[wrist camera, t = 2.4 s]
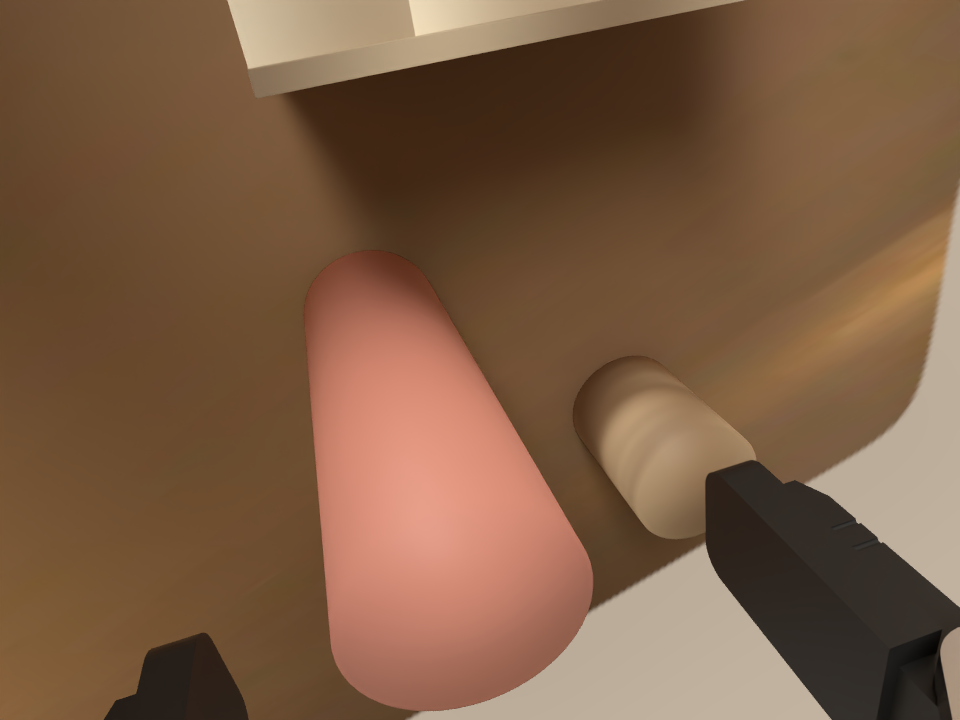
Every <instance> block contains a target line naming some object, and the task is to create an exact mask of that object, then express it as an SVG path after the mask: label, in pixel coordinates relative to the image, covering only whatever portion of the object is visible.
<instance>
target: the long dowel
mask: <svg viewBox="0 0 960 720" xmlns="http://www.w3.org/2000/svg"><path fill="white" fill-rule="evenodd" d="M304 325H305V337H306V349H307V361H308V374H309V386H310V398H311V410H312V422H313V434H314V446H315V459H316V471H317V483H318V495H319V507H320V519H321V531H322V544H323V556H324V568H325V580H326V592H327V604H328V616H329V628H330V640H331V650H332V653H333V656H334V660H335V663H336V664H337V666H338V668H339V670H340V672H341V674H342V675H343V676H344V677H345V679H346V680H347V681H348V682H349V683H350V684H351V685H352V686H353V687H354V688H355V689H357V690H358V691H359V692H360V693H362V694H364V695H365V696H367V697H369V698H370V699H372V700H375V701H377V702H379V703H382V704H385V705H388V706H392V707H395V708H400V709H406V710H415V711H441V710H449V709H456V708H461V707H466V706H470V705H474V704H477V703H481V702H484V701H487V700H490V699H492V698H495V697H497V696H500V695H502V694H504V693H506V692H508V691H510V690H512V689H514V688H516V687H518V686H520V685H522V684H523V683H525V682H526V681H528V680H530V679H531V678H533V677H534V676H536V675H537V674H538V673H540V672H541V671H542V670H544V669H545V668H546V667H547V666H548V665H549V664H551V663H552V662H553V661H554V660H555V659H556V658H557V657H558V656H559V655H560V654H561V653H562V652H563V651H564V650H565V649H566V647H567V646H568V645H569V643H570V642H571V641H572V640H573V638H574V637H575V636H576V634H577V632H578V631H579V629H580V627H581V626H582V624H583V621H584V619H585V617H586V615H587V613H588V610H589V607H590V603H591V600H592V593H593V572H592V567H591V562H590V560H589V557H588V555H587V552H586V550H585V549H584V547H583V545H582V544H581V542H580V540H579V538H578V537H577V535H576V533H575V532H574V530H573V528H572V526H571V525H570V523H569V521H568V520H567V518H566V516H565V514H564V513H563V511H562V509H561V508H560V506H559V504H558V502H557V501H556V499H555V497H554V496H553V494H552V492H551V490H550V489H549V487H548V485H547V484H546V482H545V480H544V478H543V477H542V475H541V473H540V472H539V470H538V468H537V466H536V465H535V463H534V461H533V460H532V458H531V456H530V454H529V453H528V451H527V449H526V448H525V446H524V444H523V442H522V441H521V439H520V437H519V436H518V434H517V432H516V430H515V429H514V427H513V425H512V424H511V422H510V420H509V418H508V417H507V415H506V413H505V412H504V410H503V408H502V406H501V405H500V403H499V401H498V400H497V398H496V396H495V394H494V393H493V391H492V389H491V388H490V386H489V384H488V382H487V381H486V379H485V377H484V376H483V374H482V372H481V370H480V369H479V367H478V365H477V364H476V362H475V360H474V358H473V357H472V355H471V353H470V352H469V350H468V348H467V346H466V345H465V343H464V341H463V340H462V338H461V336H460V334H459V333H458V331H457V329H456V328H455V326H454V324H453V322H452V321H451V319H450V317H449V316H448V314H447V312H446V310H445V309H444V307H443V305H442V304H441V302H440V300H439V298H438V297H437V295H436V293H435V292H434V290H433V288H432V286H431V285H430V283H429V281H428V280H427V278H426V277H425V275H424V274H423V273H422V272H421V271H420V269H418V268H417V267H416V266H415V265H414V264H413V263H411V262H410V261H408V260H407V259H405V258H403V257H401V256H399V255H396V254H393V253H389V252H384V251H375V250H370V251H360V252H355V253H352V254H348V255H346V256H343V257H341V258H339V259H337V260H336V261H334V262H332V263H331V264H329V265H328V266H327V267H326V268H325V269H323V270H322V272H321V273H320V274H319V275H318V276H317V277H316V279H315V280H314V281H313V283H312V285H311V287H310V289H309V291H308V293H307V296H306V300H305V305H304Z"/></svg>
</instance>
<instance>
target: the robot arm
mask: <svg viewBox="0 0 960 720" xmlns="http://www.w3.org/2000/svg"><path fill="white" fill-rule="evenodd" d="M705 518H706V547H707V551H708V555H709V558H710V560H711V563H712V565H713V567H714V569H715V571H716V573H717V574H718V576H719V578H720V579H721V580H722V582H723V583H724V584H725V586H726V587H727V588H728V589H729V591H730V592H731V593H732V594H733V596H734V597H735V598H736V599H737V601H738V602H739V603H740V605H741V606H742V607H743V608H744V609H745V611H746V612H747V613H748V614H749V616H750V617H751V618H752V620H753V621H754V622H755V624H757V626H758V627H759V628H760V630H761V631H762V632H763V634H764V635H765V636H766V637H767V639H768V640H769V641H770V642H771V644H772V645H773V646H774V647H775V649H776V650H777V651H778V653H779V654H780V655H781V656H782V658H783V659H784V660H785V661H786V663H787V664H788V665H789V666H790V668H791V669H792V670H793V671H794V673H795V674H796V675H797V677H798V678H799V679H800V680H801V682H802V683H803V684H804V685H805V687H806V688H807V689H808V690H809V692H810V693H811V694H812V695H813V697H814V698H815V699H816V701H817V702H818V703H819V704H820V705H821V707H822V708H823V709H824V711H825V712H826V713H827V714H828V715H829V717H830V718H831V719H832V720H960V607H958V606H957V605H956V604H955V603H953V602H952V601H951V600H950V599H949V598H948V597H947V596H945V595H944V594H943V593H942V592H941V591H940V590H938V589H937V588H936V587H935V586H934V585H933V584H931V583H930V582H929V581H928V580H927V579H926V578H924V577H923V576H922V575H921V574H920V573H918V572H917V571H916V570H915V569H914V568H913V567H912V566H910V565H909V564H908V563H907V562H906V561H905V560H903V559H902V558H901V557H900V556H899V555H897V554H896V553H895V552H894V551H893V550H892V549H890V548H889V547H888V546H887V545H886V544H885V543H880V542H879V541H878V538H877V537H876V536H875V535H874V534H873V533H872V532H871V531H869V530H868V529H867V528H866V527H865V526H864V525H862V524H861V523H860V524H858V523H857V522H856V519H855V518H854V517H853V516H852V515H851V514H849V513H848V512H847V511H846V510H845V509H844V508H843V507H841V506H840V505H839V504H838V503H836V502H835V501H834V500H833V499H832V498H831V497H829V496H828V495H826V494H823V493H821V492H819V491H817V490H815V489H813V488H811V487H808V486H806V485H804V484H802V483H800V482H798V481H795V480H794V481H791V482H788V483H785V484H783V483H782V482H781V481H780V480H778V479H777V478H776V477H775V476H774V475H773V474H772V473H771V472H770V471H769V470H767V469H766V468H765V467H764V466H763V465H762V464H761V463H759V462H757V461H755V460H748V461H745V462H742V463H739V464H736V465H733V466H730V467H726V468H723V469H720V470H717V471H714V472H711V473H709V474H708V475H707V477H706V480H705ZM104 720H248V714H247V710H246V706H245V703H244V700H243V697H242V695H241V693H240V691H239V689H238V687H237V686H236V684H235V682H234V680H233V678H232V676H231V674H230V673H229V671H228V669H227V667H226V665H225V663H224V661H223V660H222V658H221V656H220V654H219V652H218V650H217V648H216V647H215V645H214V643H213V641H212V639H211V638H210V637H209V635H208V634H206V633H200V634H197V635H194V636H191V637H188V638H184V639H181V640H178V641H175V642H172V643H169V644H166V645H163V646H159V647H156V648H153V649H151V650H150V651H149V652H148V653H147V655H146V657H145V660H144V663H143V667H142V672H141V676H140V680H139V685H138V689H137V693H136V694H135V695H132V696H129V697H126V698H123V699H119V700H116V701H115V703H114V704H113V706H112V708H111V709H110V711H109V712H108V714H107V715H106V717H105V719H104Z"/></svg>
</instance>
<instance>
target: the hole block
mask: <svg viewBox="0 0 960 720" xmlns="http://www.w3.org/2000/svg"><path fill="white" fill-rule="evenodd" d="M738 1H743V0H228V4H229V7H230V10H231V13H232V17H233V20H234V23H235V26H236V30H237V33H238V36H239V40H240V43H241V46H242V49H243V53H244V56H245V59H246V62H247V66H248V70H247V72H248V75H249V79H250V82H251V85H252V88H253V92H254V95H255V98H261V97H266V96H271V95H276V94H281V93H286V92H291V91H296V90H301V89H306V88H311V87H316V86H321V85H326V84H331V83H336V82H341V81H346V80H351V79H356V78H361V77H365V76H370V75H375V74H380V73H385V72H390V71H395V70H400V69H405V68H410V67H415V66H420V65H425V64H430V63H435V62H440V61H445V60H450V59H455V58H460V57H465V56H470V55H475V54H480V53H485V52H490V51H495V50H500V49H505V48H510V47H515V46H519V45H524V44H529V43H534V42H539V41H544V40H549V39H554V38H559V37H564V36H569V35H574V34H579V33H584V32H589V31H594V30H599V29H604V28H609V27H614V26H619V25H624V24H629V23H634V22H639V21H644V20H649V19H654V18H659V17H664V16H669V15H673V14H678V13H683V12H688V11H693V10H698V9H703V8H708V7H713V6H718V5H723V4H728V3H733V2H738Z"/></svg>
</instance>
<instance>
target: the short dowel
mask: <svg viewBox="0 0 960 720" xmlns="http://www.w3.org/2000/svg"><path fill="white" fill-rule="evenodd" d="M573 423H574V427H575V430H576V432H577V434H578V436H579V437H580V439H581V440H582V441H583V443H584V444H585V445H586V447H587V448H588V449H589V451H590V452H591V454H592V455H593V456H594V458H595V459H596V460H597V462H598V463H599V465H600V466H601V467H602V469H603V470H604V471H605V473H606V474H607V475H608V477H609V478H610V480H611V481H612V482H613V484H614V485H615V486H616V488H617V489H618V491H619V492H620V493H621V495H622V496H623V497H624V499H625V500H626V501H627V503H628V504H629V506H630V507H631V508H632V510H633V511H634V512H635V514H636V515H637V517H638V518H639V519H640V521H641V522H642V523H643V525H644V526H645V527H646V528H647V529H648V530H649V531H650V532H652V533H653V534H655V535H657V536H660V537H662V538H667V539H685V538H690V537H694V536H698V535H700V534H703V533H705V532H706V518H705V480H706V477H707V475H708V474H709V473H711V472H714V471H717V470H720V469H723V468H726V467H730V466H733V465H736V464H739V463H742V462H745V461H748V460H755V461H756V456H755V453H754V450H753V448H752V446H751V445H750V443H749V442H748V441H747V440H746V439H745V438H744V437H743V436H741V435H740V434H739V433H738V432H737V431H736V430H735V429H734V428H732V427H731V426H730V425H729V424H728V423H727V422H726V421H725V420H723V419H722V418H721V417H720V416H719V415H718V414H717V413H715V412H714V411H713V410H712V409H711V408H710V407H709V406H708V405H706V404H705V403H704V402H703V401H702V400H701V399H700V398H699V397H697V396H696V395H695V394H694V393H693V392H692V391H691V390H690V389H688V388H687V387H686V386H685V385H684V384H683V383H682V382H681V381H679V380H678V379H677V378H676V377H675V376H674V375H673V374H671V373H670V372H669V371H668V370H667V369H666V368H665V367H664V366H662V365H661V364H660V363H659V362H657V361H655V360H653V359H651V358H648V357H643V356H628V357H623V358H619V359H617V360H614V361H612V362H610V363H607V364H606V365H604V366H603V367H601V368H600V369H598V370H597V371H596V372H595V373H593V374H592V375H591V376H590V377H589V378H588V380H587V381H586V382H585V383H584V385H583V386H582V388H581V389H580V391H579V393H578V395H577V398H576V400H575V404H574V408H573Z"/></svg>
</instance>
